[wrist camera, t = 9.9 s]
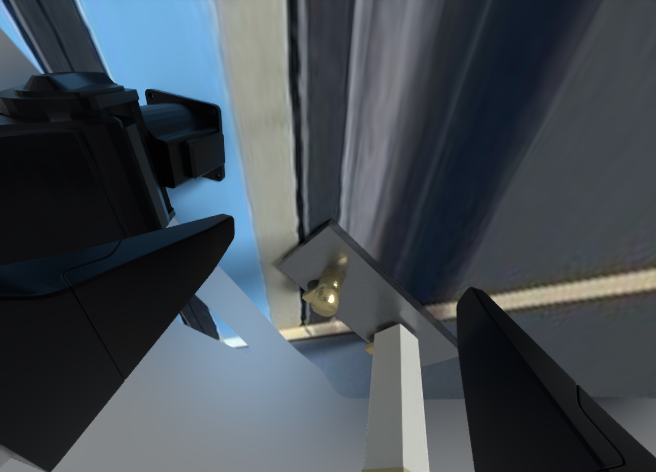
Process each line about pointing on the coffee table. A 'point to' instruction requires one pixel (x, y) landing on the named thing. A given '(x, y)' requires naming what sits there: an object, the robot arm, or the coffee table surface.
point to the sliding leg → (396, 405)
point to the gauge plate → (362, 292)
